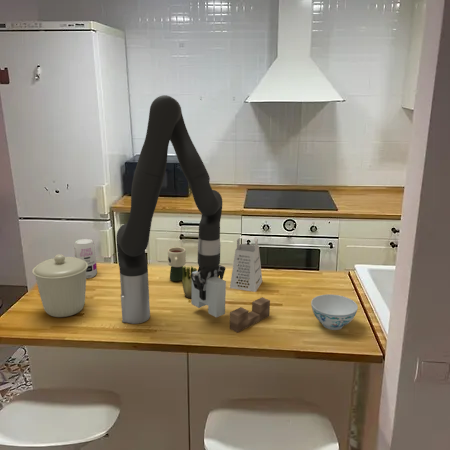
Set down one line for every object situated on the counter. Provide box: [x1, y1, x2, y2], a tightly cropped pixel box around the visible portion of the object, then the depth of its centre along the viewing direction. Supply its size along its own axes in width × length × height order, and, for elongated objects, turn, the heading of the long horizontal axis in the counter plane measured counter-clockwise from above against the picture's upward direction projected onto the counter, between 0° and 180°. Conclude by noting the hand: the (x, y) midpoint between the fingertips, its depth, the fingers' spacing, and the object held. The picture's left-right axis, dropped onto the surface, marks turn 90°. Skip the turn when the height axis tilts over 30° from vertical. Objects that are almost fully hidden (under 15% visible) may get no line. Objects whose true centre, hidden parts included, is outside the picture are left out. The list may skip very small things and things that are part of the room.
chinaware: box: [310, 293, 359, 331], centre depth 155 cm, size 15×15×8 cm
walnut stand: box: [229, 296, 271, 333], centre depth 157 cm, size 16×4×6 cm, turn 134°
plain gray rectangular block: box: [190, 270, 227, 318], centre depth 159 cm, size 4×13×12 cm, turn 43°
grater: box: [229, 235, 263, 293], centre depth 184 cm, size 10×10×20 cm
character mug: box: [167, 246, 187, 282], centre depth 189 cm, size 11×7×13 cm, turn 3°
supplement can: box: [73, 238, 98, 279], centre depth 193 cm, size 8×8×15 cm
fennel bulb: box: [181, 265, 198, 299], centre depth 175 cm, size 6×5×12 cm
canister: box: [31, 253, 88, 318], centre depth 162 cm, size 18×18×21 cm
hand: (208, 297), depth 160 cm, fingers closed on plain gray rectangular block, 4 cm apart
